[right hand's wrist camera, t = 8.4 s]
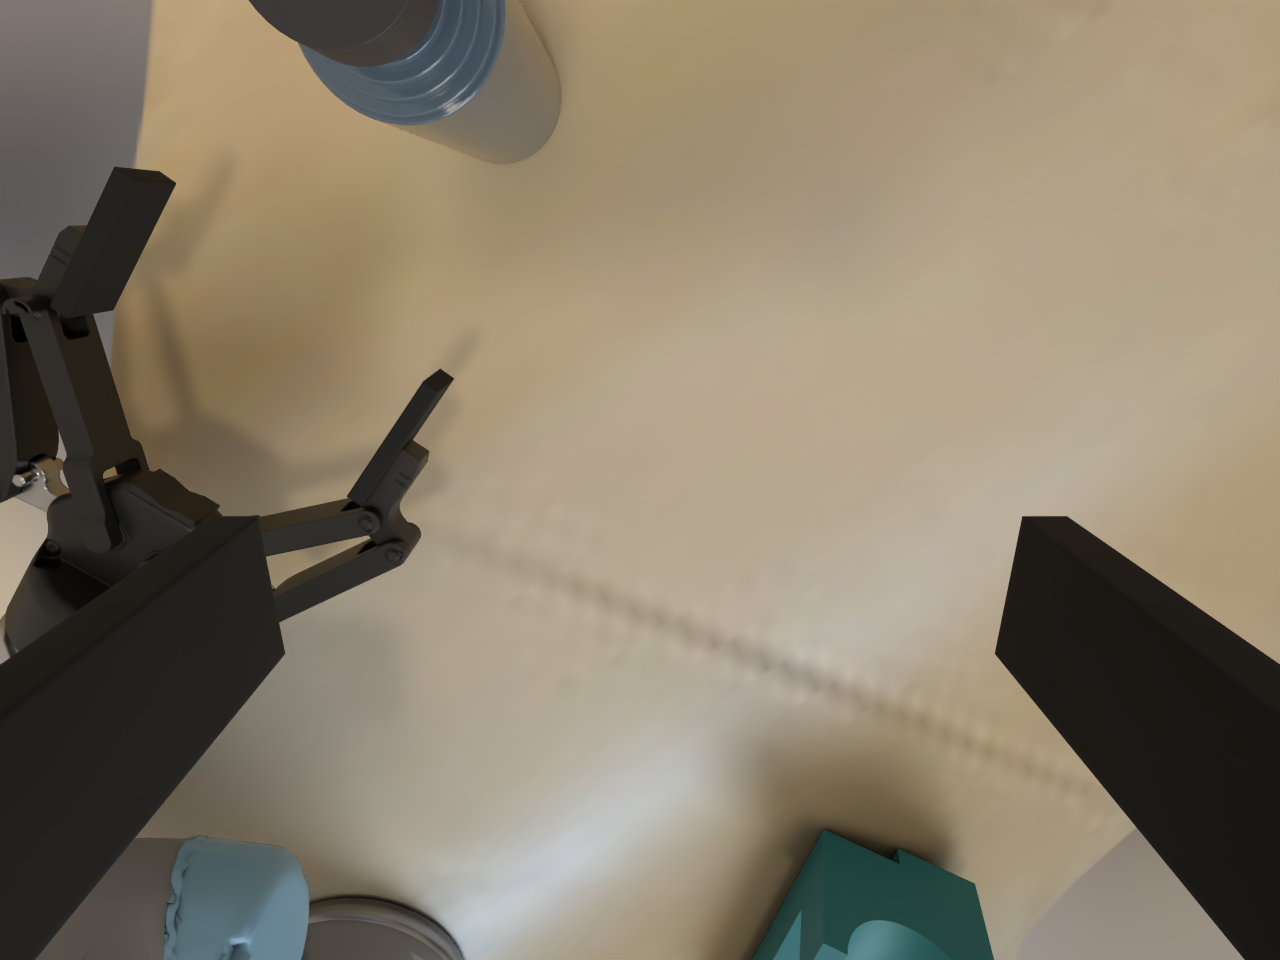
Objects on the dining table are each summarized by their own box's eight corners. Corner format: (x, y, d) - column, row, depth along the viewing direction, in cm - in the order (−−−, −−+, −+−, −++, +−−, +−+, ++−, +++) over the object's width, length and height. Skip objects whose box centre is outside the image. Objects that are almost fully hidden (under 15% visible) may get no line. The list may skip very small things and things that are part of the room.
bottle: (453, 174, 35) (245, 124, 16) (419, 35, 33) (139, -200, 14) (572, 151, 34) (497, 72, 16) (545, 9, 32) (424, -266, 14)
